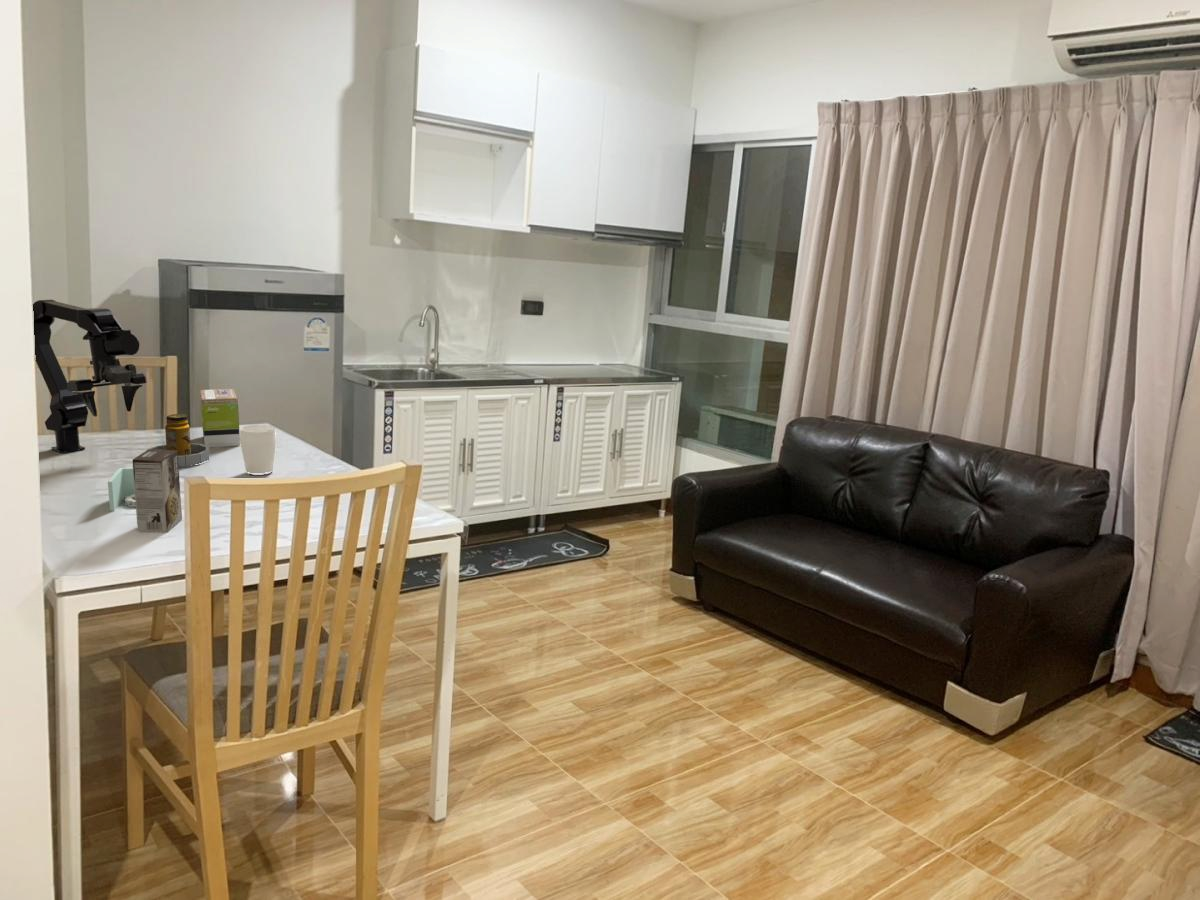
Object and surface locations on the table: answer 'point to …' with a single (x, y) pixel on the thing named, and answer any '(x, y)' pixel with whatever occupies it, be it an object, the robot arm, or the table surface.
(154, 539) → the table surface
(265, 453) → the cup
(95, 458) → the table surface
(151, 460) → the coffee box
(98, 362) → the robot arm
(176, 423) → the condiment
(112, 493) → the right angle wall
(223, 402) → the tea box
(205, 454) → the round grey tray
